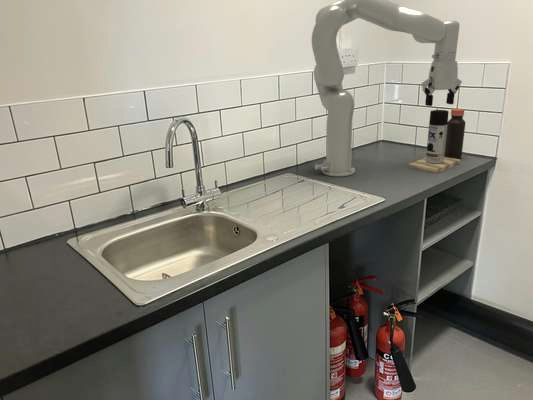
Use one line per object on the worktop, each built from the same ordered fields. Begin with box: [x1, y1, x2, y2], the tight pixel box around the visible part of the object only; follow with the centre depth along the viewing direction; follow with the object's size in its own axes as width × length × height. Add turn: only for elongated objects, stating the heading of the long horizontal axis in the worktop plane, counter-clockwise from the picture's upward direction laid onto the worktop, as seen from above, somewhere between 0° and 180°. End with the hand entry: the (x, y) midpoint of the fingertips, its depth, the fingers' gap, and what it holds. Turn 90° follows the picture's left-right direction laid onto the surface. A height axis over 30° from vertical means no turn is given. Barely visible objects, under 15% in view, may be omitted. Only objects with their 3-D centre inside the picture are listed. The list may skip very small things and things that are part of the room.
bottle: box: [444, 108, 466, 160], centre depth 180 cm, size 7×7×20 cm
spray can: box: [425, 109, 449, 164], centre depth 170 cm, size 7×7×20 cm
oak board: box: [408, 157, 461, 174], centre depth 174 cm, size 18×12×2 cm, turn 131°
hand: (439, 104), depth 166 cm, fingers open, 9 cm apart
